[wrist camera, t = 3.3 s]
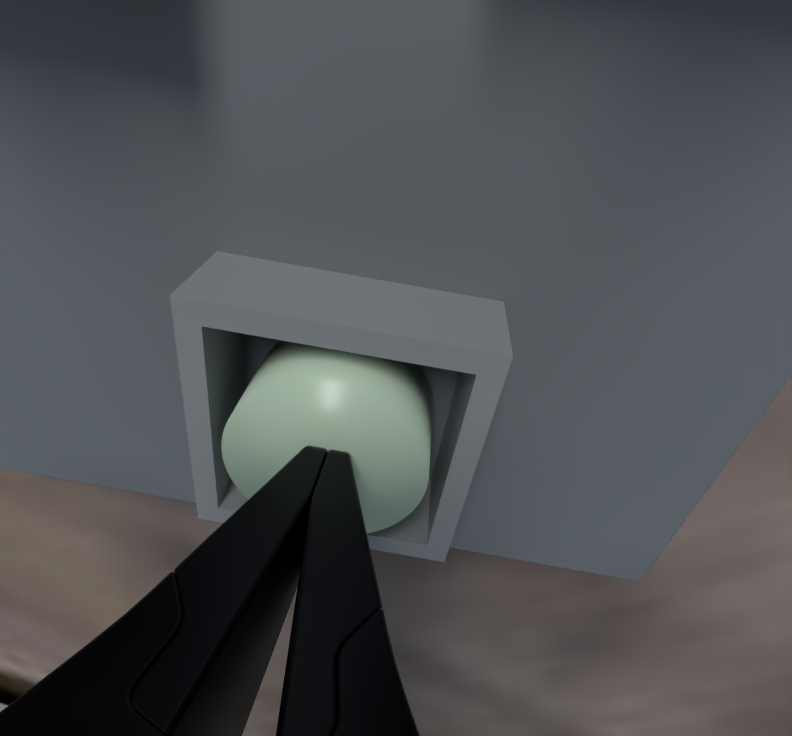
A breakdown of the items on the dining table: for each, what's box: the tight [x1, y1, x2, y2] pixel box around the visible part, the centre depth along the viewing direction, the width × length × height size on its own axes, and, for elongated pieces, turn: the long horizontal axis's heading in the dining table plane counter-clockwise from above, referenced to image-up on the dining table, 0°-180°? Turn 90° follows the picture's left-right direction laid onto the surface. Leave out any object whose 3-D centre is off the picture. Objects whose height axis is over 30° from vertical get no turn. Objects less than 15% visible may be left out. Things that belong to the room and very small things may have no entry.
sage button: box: [221, 340, 433, 533], centre depth 10 cm, size 4×4×2 cm
